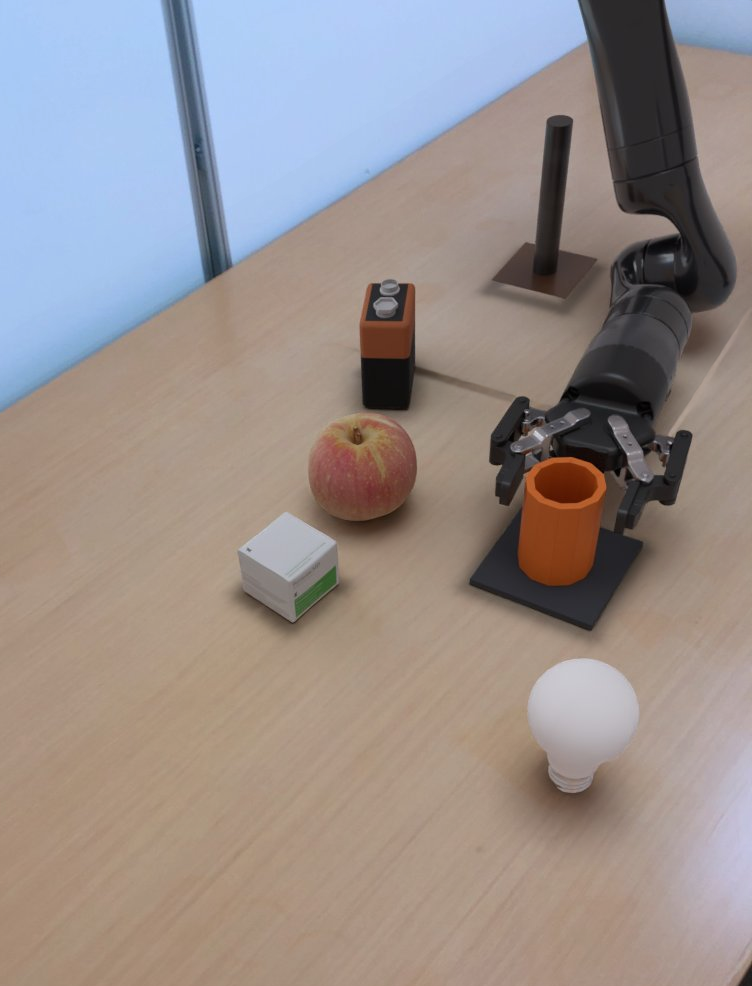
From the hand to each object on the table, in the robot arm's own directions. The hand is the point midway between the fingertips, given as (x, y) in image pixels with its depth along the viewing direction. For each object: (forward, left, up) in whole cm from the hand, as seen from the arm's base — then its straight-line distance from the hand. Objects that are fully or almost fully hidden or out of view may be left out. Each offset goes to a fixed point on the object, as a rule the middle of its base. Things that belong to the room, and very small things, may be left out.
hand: (561, 510), depth 80 cm
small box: (+17, +10, -7) cm, 22 cm away
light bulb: (-9, +16, -7) cm, 20 cm away
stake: (+18, -39, -7) cm, 43 cm away
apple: (+17, -1, -7) cm, 19 cm away
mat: (0, -2, -7) cm, 7 cm away
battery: (+23, -16, -7) cm, 29 cm away
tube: (0, -2, -7) cm, 7 cm away
